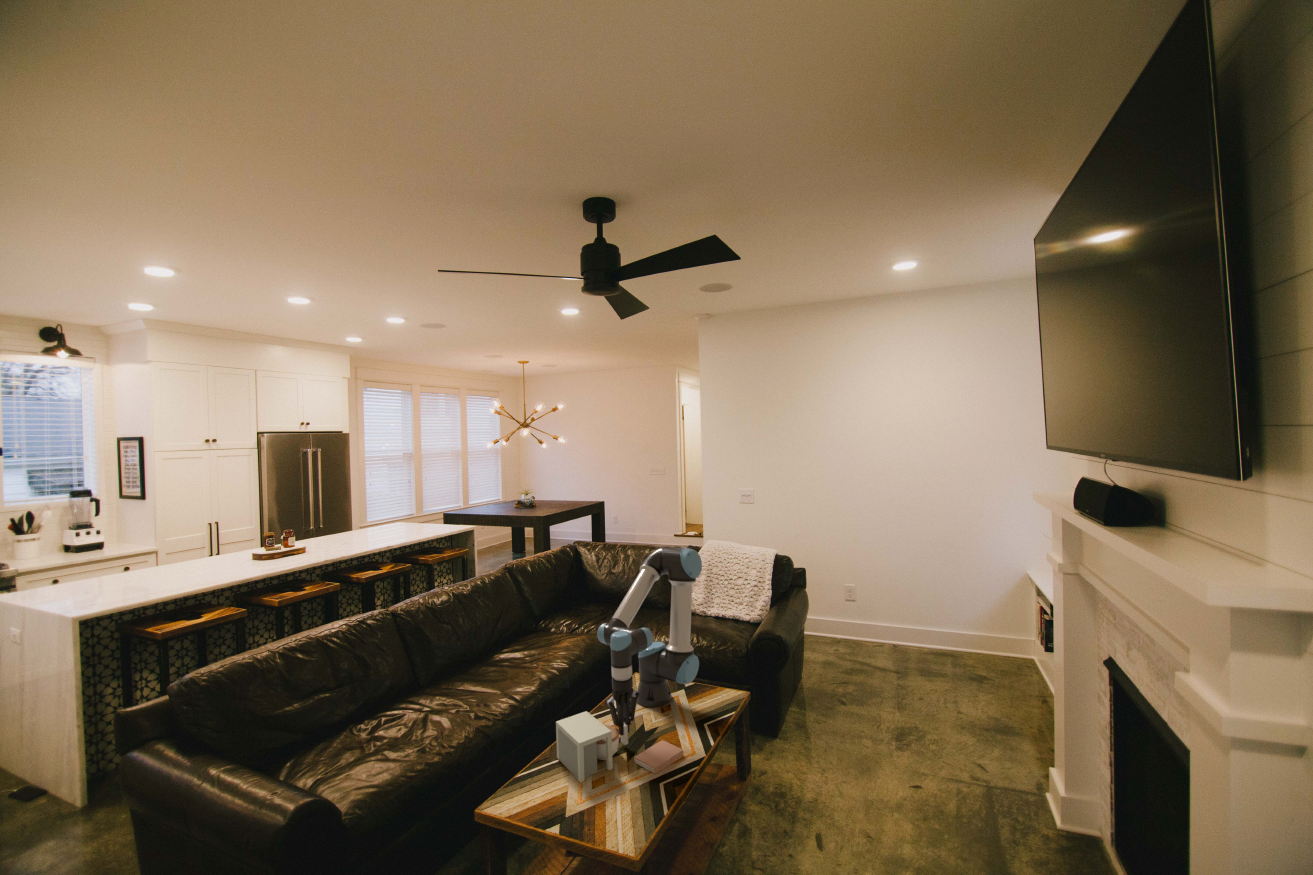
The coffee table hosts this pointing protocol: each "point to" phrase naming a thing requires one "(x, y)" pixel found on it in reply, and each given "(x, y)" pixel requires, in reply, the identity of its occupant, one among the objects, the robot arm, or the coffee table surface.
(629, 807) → the coffee table surface
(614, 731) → the lidded jar
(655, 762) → the book
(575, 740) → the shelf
